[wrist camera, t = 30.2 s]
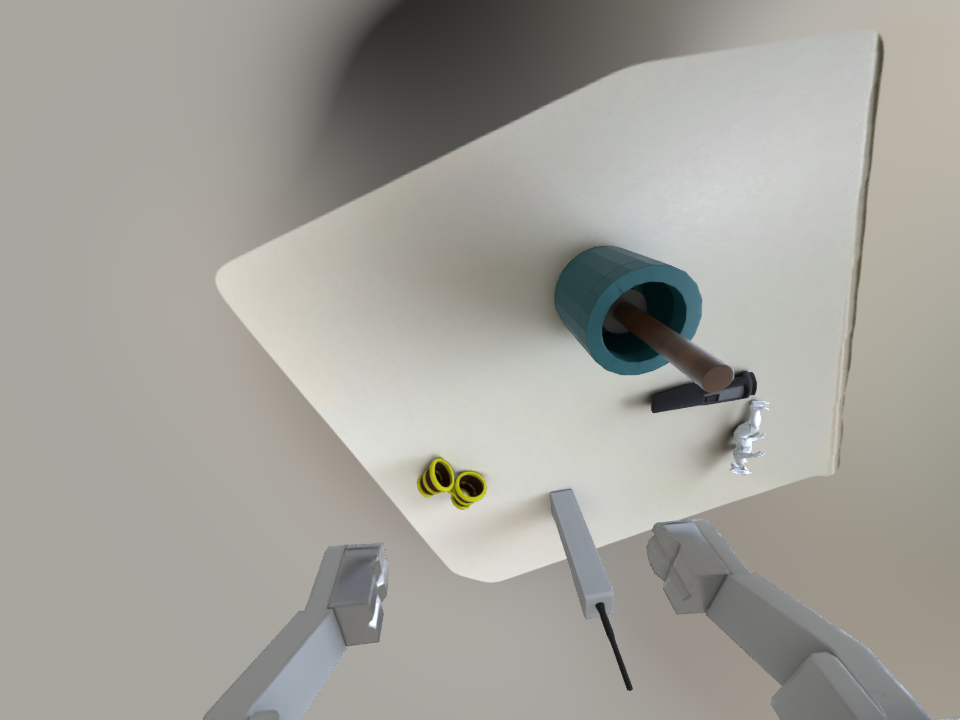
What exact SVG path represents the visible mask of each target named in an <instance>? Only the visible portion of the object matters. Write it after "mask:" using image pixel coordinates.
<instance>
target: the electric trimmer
mask: <svg viewBox="0 0 960 720" xmlns="http://www.w3.org/2000/svg"><path fill="white" fill-rule="evenodd" d="M756 389H757V382H756V378H755V375H754V373H753V372H749V373H748V372H747V371H745V372H743V375H742V376H740V377H737V378H733V380H732V382H731V383H730V384H729V385H728V386H727V387H726V388H725V389H723V390H721V391H719V392H714V393H710V392H707V391H705V390H704V389H702V388H701V387H700V386H699V385H697V384H695V383H691V384H687V385H684V386H681V387H678V388H675V389H672V390H669V391H666V392H663V393H660V394H657V395H654V396H652V404H651V411H652V412H653V413H658V412H663V411H669V410H675V409H681V408H687V407H693V406H698V405H709V404H715V403H721V402H727V401H733V400H739V399H745V398H748V397H749V396H750V395H755V393H756Z"/></svg>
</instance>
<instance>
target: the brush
mask: <svg viewBox="0 0 960 720" xmlns="http://www.w3.org/2000/svg"><path fill="white" fill-rule="evenodd" d="M646 311H647V302H646V299H645V297H644V295H643V294H642V293H641V292H640V291H638V290H636V289H634V288H631V289H629V290H627V291H626V292H624V293H622V294H621V295H620V296H619V297H618V298H617V299H616V300H615V301H614V303H613V304H612V305H611V306H610V308H609V310H608V312H607V313H606V315H605V317H604V321H603V327H604V328H605V329H606V330H607V331H609V332H611V333H615V334H622V333H626V332H629V331H631V332H632V333H633V334H634V335H636V336H637V337H638V338H639V339H641V340H642V341H643V342H644V343H646V344H647V345H648V346H649V347H651V348H652V349H653V350H654V351H656V352H657V353H658V354H660V355H661V356H662V357H663V358H665V359H666V360H667V361H668V362H670V363H671V364H672V365H673V366H675V367H676V368H677V369H678V370H680V371H681V372H682V373H684V374H685V375H686V376H687V377H689V378H690V379H691V380H692V381H694V382H695V383H696V384H697V385H699V386H700V387H701V388H702V389H704V390H705V391H707V392H710V393H714V392H719V391H721V390H723V389H725V388H726V387H727V386H728V385H729V384H730V383H731V382H732V380H733V377H734V371H733V369H732V367H730V366H729V365H727V364H726V363H724V362H723V361H721V360H719V359H718V358H716V357H715V356H713V355H712V354H710V353H708V352H707V351H705V350H704V349H702V348H701V347H699V346H697V345H696V344H694V343H693V342H691V341H690V340H688V339H686V338H685V337H683V336H682V335H680V334H679V333H677V332H675V331H674V330H672V329H671V328H669V327H667V326H666V325H664V324H663V323H661V322H660V321H658V320H656V319H655V318H653V317H652V316H650V315H649V314H647V313H646Z"/></svg>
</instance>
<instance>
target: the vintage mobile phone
mask: <svg viewBox="0 0 960 720" xmlns="http://www.w3.org/2000/svg"><path fill="white" fill-rule="evenodd" d="M550 496H551V510H552V515H553V518H554V520H555V523H556V525H557V528H558V532H559V535H560V538H561V541H562V544H563V547H564V550H565V554H566V557H567V560H568V563H569V566H570V569H571V573H572V577H573V581H574V584H575V587H576V591H577V594H578V597H579V601H580V604H581V607H582V610H583V614H584V617H585V618H586V619H591V618H597V617H601V620H602V622H603V626H604V628H605V631H606V634H607V636H608V638H609V641H610V643H611V645H612V648H613V651H614V654H615V656H616V659H617V662H618V665H619V668H620V671H621V674H622V676H623V679H624V682H625V685H626V688H627V690H629V691H631V690H632V689H633V688H632V685H631V682H630V679H629V677H628V674H627V671H626V669H625V666H624V663H623V660H622V658H621V655H620V652H619V649H618V647H617V644H616V641H615V637H614V633H613V630H612V627H611V625H610V622H609V619H608V617H607V616H609V615H612V613H613V597H614V593H613V589H612V587H611V584H610V582H609V579H608V577H607V574H606V572H605V570H604V567H603V565H602V562H601V560H600V557H599V555H598V552H597V550H596V547H595V545H594V542H593V540H592V537H591V535H590V532H589V530H588V528H587V525H586V523H585V520H584V518H583V515H582V513H581V510H580V508H579V505H578V503H577V500H576V498H575V496H574V493H573V491H572V490H571V489H570V490H564V491H558V492H552V493H550Z"/></svg>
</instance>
